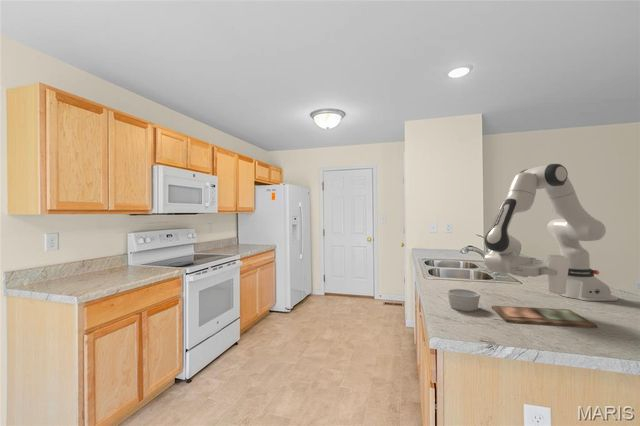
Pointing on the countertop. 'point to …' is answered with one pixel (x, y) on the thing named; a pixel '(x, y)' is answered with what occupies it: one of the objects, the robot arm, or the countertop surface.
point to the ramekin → (463, 299)
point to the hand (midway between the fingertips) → (560, 271)
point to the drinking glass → (558, 273)
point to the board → (542, 316)
